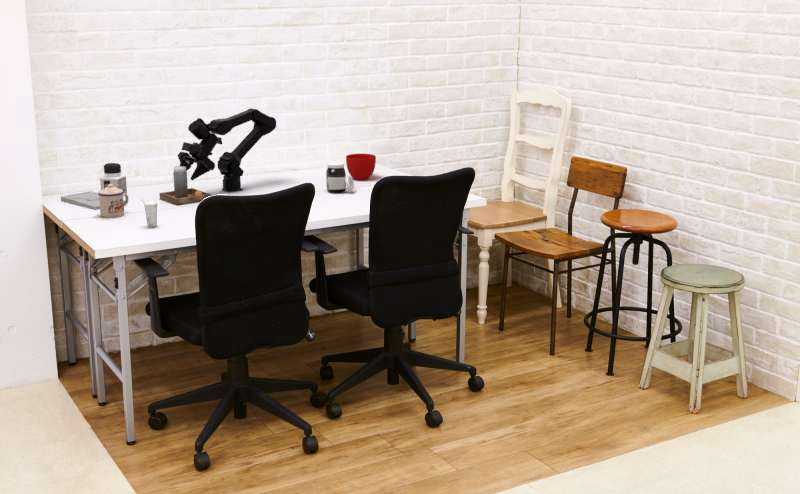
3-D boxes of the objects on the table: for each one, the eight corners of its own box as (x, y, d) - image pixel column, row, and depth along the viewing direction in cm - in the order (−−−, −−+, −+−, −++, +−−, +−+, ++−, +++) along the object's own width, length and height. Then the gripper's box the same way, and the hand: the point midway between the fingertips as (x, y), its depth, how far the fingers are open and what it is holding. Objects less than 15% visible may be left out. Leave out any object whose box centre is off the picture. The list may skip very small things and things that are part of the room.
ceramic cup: (381, 174, 460) (381, 152, 458) (371, 182, 444) (371, 159, 442) (353, 173, 463) (352, 151, 460) (342, 181, 447) (342, 158, 445)
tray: (192, 194, 421) (192, 188, 421) (210, 200, 411) (210, 194, 410) (159, 199, 413) (159, 193, 412) (177, 205, 402) (176, 199, 401)
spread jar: (324, 189, 431) (324, 161, 428) (351, 188, 433) (351, 160, 430) (330, 195, 419) (329, 167, 416) (357, 194, 422) (357, 165, 419)
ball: (200, 197, 413) (200, 189, 412) (204, 198, 411) (203, 190, 410) (193, 198, 411) (192, 190, 410) (197, 199, 409) (196, 191, 408)
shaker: (180, 196, 415) (178, 165, 412) (190, 197, 413) (189, 166, 409) (172, 198, 410) (170, 167, 407) (182, 200, 408) (180, 168, 405)
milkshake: (144, 224, 372) (142, 197, 369) (159, 224, 372) (157, 197, 370) (142, 227, 368) (140, 200, 365) (157, 227, 368) (155, 199, 366)
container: (118, 197, 416) (116, 165, 412) (101, 196, 417) (98, 164, 414) (127, 193, 423) (125, 162, 419) (109, 192, 424) (107, 161, 421)
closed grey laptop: (95, 211, 395) (126, 205, 405) (95, 206, 394) (125, 200, 404) (61, 201, 410) (91, 195, 420) (60, 195, 409) (91, 190, 419)
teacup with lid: (109, 219, 380) (107, 188, 377) (94, 215, 386) (92, 184, 383) (136, 213, 389) (134, 182, 386) (121, 209, 395) (119, 179, 392)
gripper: (179, 131, 416) (158, 163, 412) (206, 137, 404) (184, 169, 399) (197, 148, 424) (176, 179, 419) (224, 154, 411) (203, 185, 407)
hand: (184, 177), depth 411 cm, fingers open, 9 cm apart
